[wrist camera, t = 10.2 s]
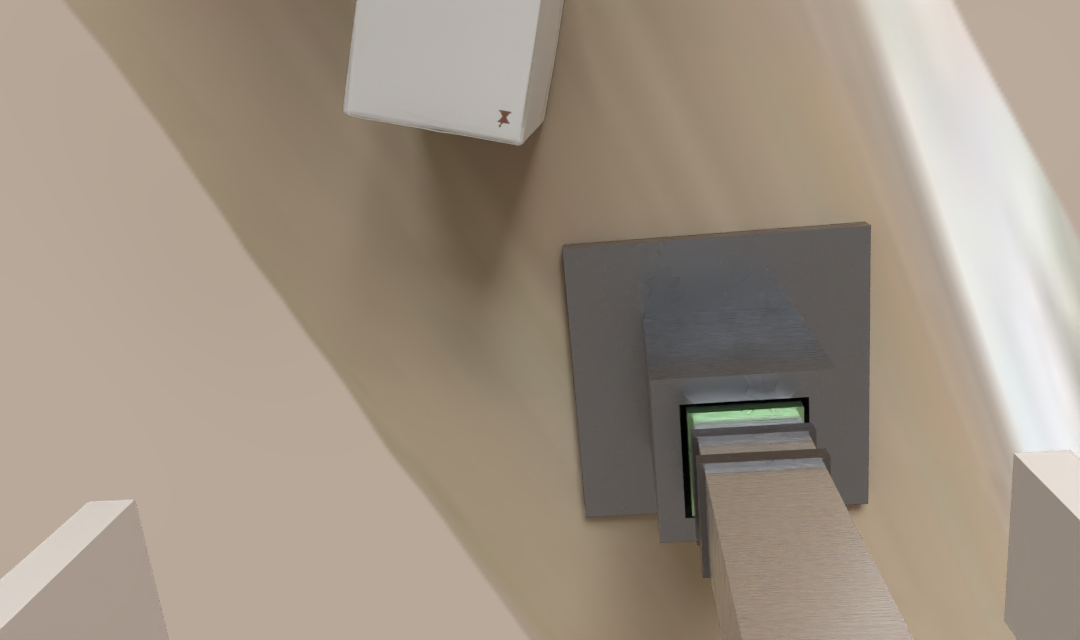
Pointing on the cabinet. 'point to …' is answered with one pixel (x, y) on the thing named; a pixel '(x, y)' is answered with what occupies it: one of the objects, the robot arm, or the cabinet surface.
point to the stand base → (714, 353)
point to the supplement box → (454, 65)
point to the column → (779, 530)
